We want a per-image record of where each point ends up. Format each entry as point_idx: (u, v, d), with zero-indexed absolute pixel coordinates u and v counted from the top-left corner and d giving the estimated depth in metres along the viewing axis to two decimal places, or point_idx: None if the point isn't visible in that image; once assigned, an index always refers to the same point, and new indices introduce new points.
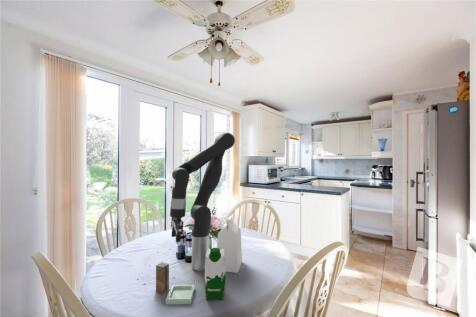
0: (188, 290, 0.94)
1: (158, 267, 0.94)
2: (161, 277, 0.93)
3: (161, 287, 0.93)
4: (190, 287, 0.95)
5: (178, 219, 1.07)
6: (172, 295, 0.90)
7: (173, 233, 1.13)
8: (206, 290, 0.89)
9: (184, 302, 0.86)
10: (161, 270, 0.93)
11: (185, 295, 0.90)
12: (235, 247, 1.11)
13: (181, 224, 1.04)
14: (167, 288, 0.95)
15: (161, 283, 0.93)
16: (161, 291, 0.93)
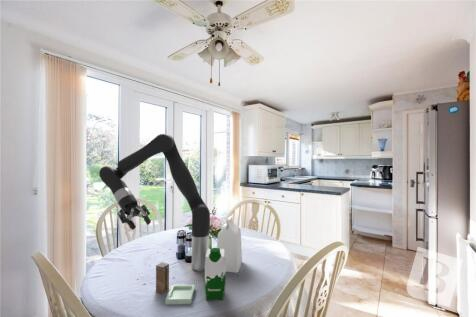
0: (188, 290, 0.94)
1: (158, 267, 0.94)
2: (161, 277, 0.93)
3: (161, 287, 0.93)
4: (190, 287, 0.95)
5: (123, 209, 1.01)
6: (172, 295, 0.90)
7: (146, 221, 1.05)
8: (206, 290, 0.89)
9: (184, 302, 0.86)
10: (161, 270, 0.93)
11: (185, 295, 0.90)
12: (235, 247, 1.11)
13: (119, 213, 0.97)
14: (167, 288, 0.95)
15: (161, 283, 0.93)
16: (161, 291, 0.93)
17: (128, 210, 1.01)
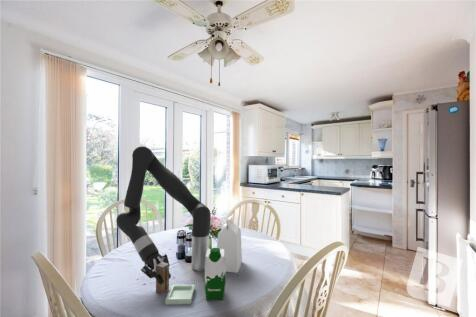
0: (188, 290, 0.94)
1: (158, 267, 0.94)
2: None
3: (161, 287, 0.93)
4: (190, 287, 0.95)
5: (144, 261, 0.94)
6: (172, 295, 0.90)
7: None
8: (206, 290, 0.89)
9: (184, 302, 0.86)
10: (161, 270, 0.93)
11: (185, 295, 0.90)
12: (235, 247, 1.11)
13: (144, 270, 0.91)
14: (167, 288, 0.95)
15: None
16: (161, 291, 0.93)
17: (151, 263, 0.94)
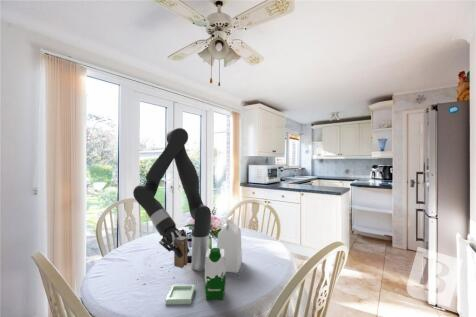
0: (188, 290, 0.94)
1: (177, 240, 0.90)
2: None
3: (180, 261, 0.89)
4: (190, 287, 0.95)
5: (162, 235, 0.91)
6: (172, 295, 0.90)
7: None
8: (206, 290, 0.89)
9: (184, 302, 0.86)
10: (180, 243, 0.89)
11: (185, 295, 0.90)
12: (235, 247, 1.11)
13: (163, 242, 0.87)
14: (186, 262, 0.91)
15: None
16: (180, 265, 0.89)
17: (169, 237, 0.90)
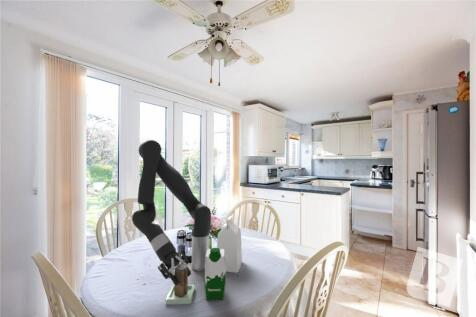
0: (188, 290, 0.94)
1: (177, 270, 0.90)
2: (180, 280, 0.89)
3: (180, 291, 0.89)
4: (190, 287, 0.95)
5: (162, 261, 0.91)
6: (172, 295, 0.90)
7: None
8: (206, 290, 0.89)
9: (184, 302, 0.86)
10: (180, 273, 0.89)
11: (185, 295, 0.90)
12: (235, 247, 1.11)
13: (161, 267, 0.87)
14: (186, 292, 0.91)
15: (180, 286, 0.89)
16: (180, 295, 0.89)
17: (168, 262, 0.90)
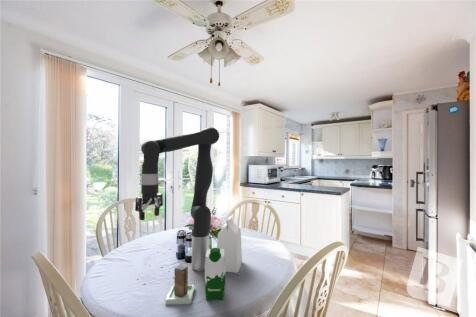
0: (188, 290, 0.94)
1: (177, 270, 0.90)
2: (180, 280, 0.89)
3: (180, 291, 0.89)
4: (190, 287, 0.95)
5: (142, 195, 0.99)
6: (172, 295, 0.90)
7: (155, 212, 1.05)
8: (206, 290, 0.89)
9: (184, 302, 0.86)
10: (180, 273, 0.89)
11: (185, 295, 0.90)
12: (235, 247, 1.11)
13: (138, 200, 0.96)
14: (186, 292, 0.91)
15: (180, 286, 0.89)
16: (180, 295, 0.89)
17: (146, 199, 0.99)
